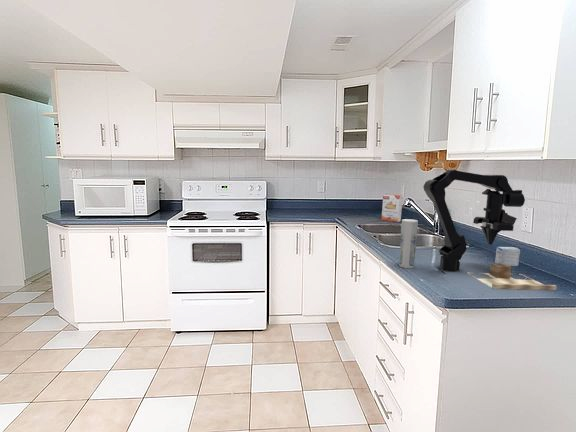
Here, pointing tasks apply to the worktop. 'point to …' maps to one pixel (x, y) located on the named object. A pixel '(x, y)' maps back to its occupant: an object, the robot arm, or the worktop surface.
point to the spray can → (408, 243)
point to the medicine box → (507, 256)
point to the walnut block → (500, 270)
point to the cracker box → (392, 207)
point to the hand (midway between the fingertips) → (490, 244)
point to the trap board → (515, 283)
